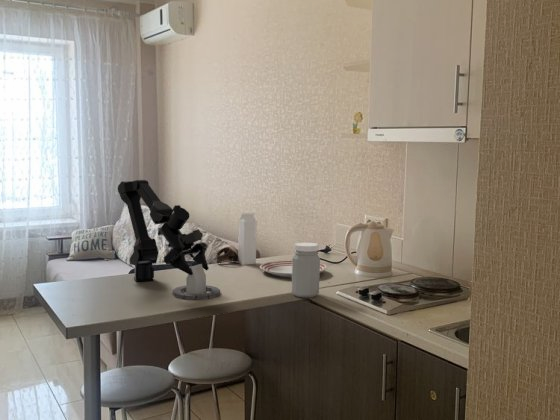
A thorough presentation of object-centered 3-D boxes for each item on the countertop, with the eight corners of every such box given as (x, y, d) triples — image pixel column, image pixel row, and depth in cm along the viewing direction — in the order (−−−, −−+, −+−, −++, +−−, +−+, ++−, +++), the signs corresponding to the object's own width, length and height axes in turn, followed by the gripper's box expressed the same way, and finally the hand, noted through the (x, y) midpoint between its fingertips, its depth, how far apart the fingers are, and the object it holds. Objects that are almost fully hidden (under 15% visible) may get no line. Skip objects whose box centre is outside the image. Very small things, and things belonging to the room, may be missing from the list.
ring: (178, 301, 198) (178, 297, 198) (168, 289, 213) (168, 286, 213) (225, 297, 204) (225, 294, 204) (212, 286, 219) (212, 283, 219)
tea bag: (205, 292, 211) (206, 264, 210) (195, 296, 205) (195, 267, 204) (196, 291, 212) (197, 263, 211) (186, 295, 206) (186, 266, 205)
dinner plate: (249, 277, 237) (250, 268, 237) (272, 264, 263) (272, 256, 263) (316, 283, 229) (317, 275, 228) (333, 270, 254) (333, 262, 254)
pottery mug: (241, 266, 258) (233, 251, 255) (222, 275, 259) (213, 260, 256) (240, 254, 269) (232, 239, 266) (221, 263, 270) (213, 248, 267)
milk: (255, 264, 262) (257, 214, 260) (243, 264, 259) (244, 214, 257) (249, 261, 268) (251, 212, 265) (237, 262, 265) (238, 212, 262)
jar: (285, 294, 210) (286, 243, 208) (303, 289, 218) (305, 240, 216) (306, 299, 204) (308, 247, 202) (324, 294, 211) (326, 244, 209)
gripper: (170, 225, 199) (197, 262, 195) (203, 219, 216) (228, 253, 212) (152, 246, 204) (178, 282, 200) (185, 239, 220) (210, 272, 216)
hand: (200, 271), depth 207 cm, fingers open, 9 cm apart
